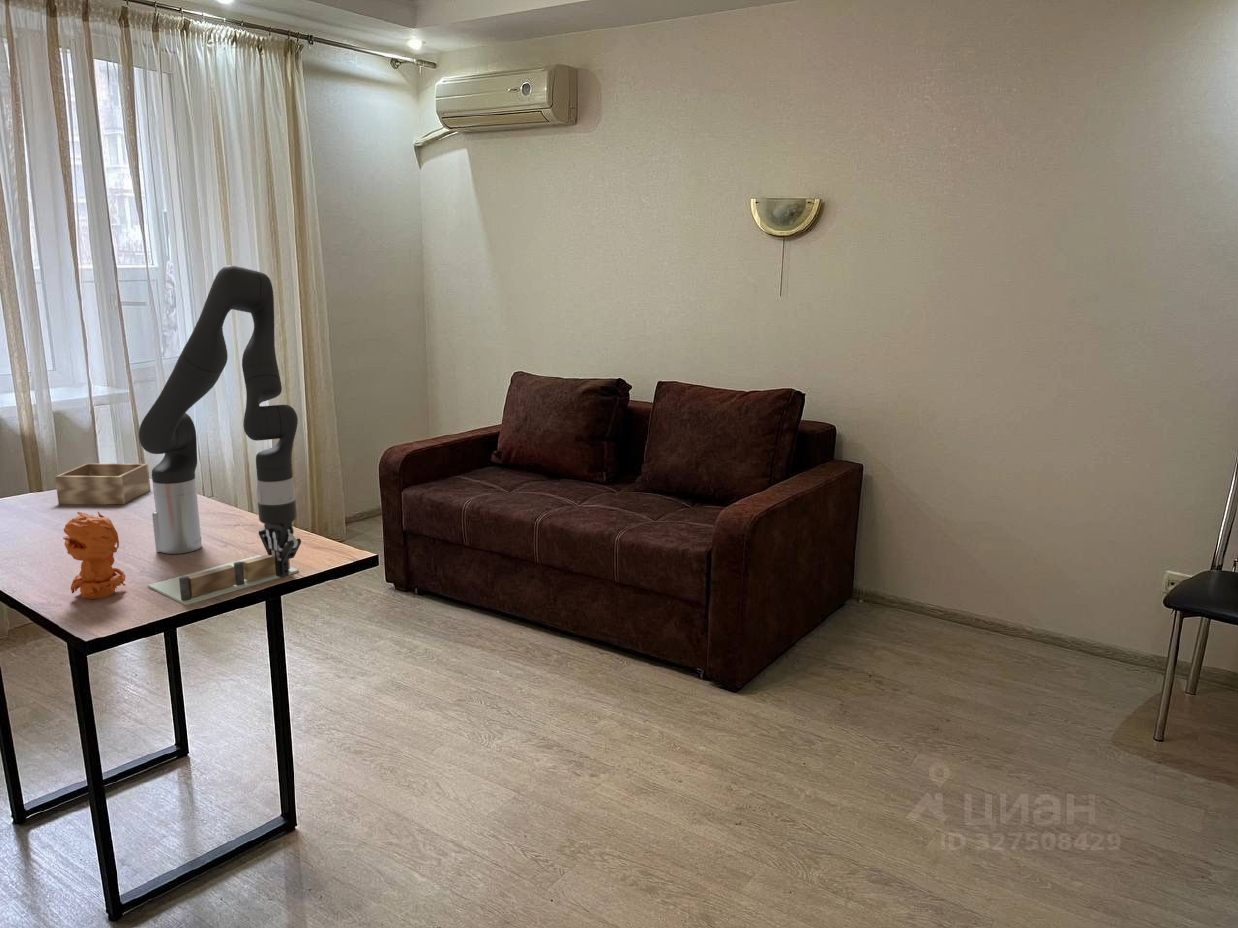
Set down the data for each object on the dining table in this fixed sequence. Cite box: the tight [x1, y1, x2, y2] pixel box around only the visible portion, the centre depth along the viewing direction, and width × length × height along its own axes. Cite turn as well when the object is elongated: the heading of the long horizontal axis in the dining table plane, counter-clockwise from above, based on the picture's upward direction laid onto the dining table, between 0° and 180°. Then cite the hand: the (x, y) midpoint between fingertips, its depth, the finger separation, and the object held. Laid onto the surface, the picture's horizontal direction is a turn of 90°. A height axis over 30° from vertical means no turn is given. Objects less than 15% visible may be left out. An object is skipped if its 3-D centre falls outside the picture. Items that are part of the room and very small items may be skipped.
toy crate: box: [54, 462, 152, 505], centre depth 266 cm, size 18×16×8 cm
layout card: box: [147, 554, 300, 606], centre depth 203 cm, size 26×16×1 cm, turn 142°
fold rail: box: [242, 554, 291, 581], centre depth 204 cm, size 10×2×4 cm, turn 142°
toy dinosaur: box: [62, 511, 126, 600], centre depth 192 cm, size 11×11×18 cm
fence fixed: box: [179, 560, 244, 601], centre depth 194 cm, size 14×2×5 cm, turn 142°
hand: (282, 575), depth 200 cm, fingers closed
